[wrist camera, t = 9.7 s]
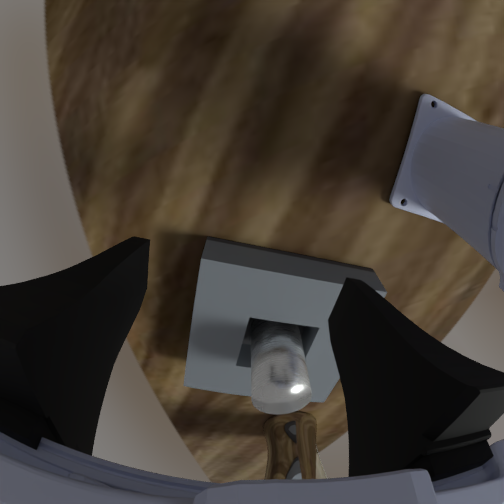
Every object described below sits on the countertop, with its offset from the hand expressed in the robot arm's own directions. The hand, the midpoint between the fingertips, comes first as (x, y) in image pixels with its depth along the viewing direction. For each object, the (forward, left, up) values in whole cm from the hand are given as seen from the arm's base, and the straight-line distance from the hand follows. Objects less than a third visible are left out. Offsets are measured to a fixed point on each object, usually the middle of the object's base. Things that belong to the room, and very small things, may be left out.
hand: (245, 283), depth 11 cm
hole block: (-4, +9, -9) cm, 14 cm away
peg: (-4, +9, -9) cm, 13 cm away
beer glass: (-10, +24, -10) cm, 28 cm away
